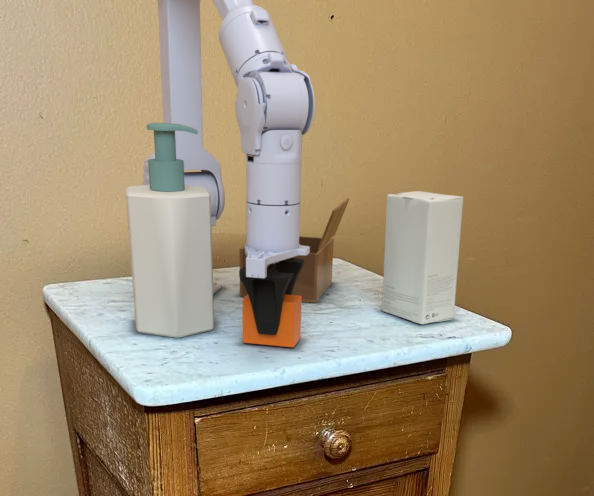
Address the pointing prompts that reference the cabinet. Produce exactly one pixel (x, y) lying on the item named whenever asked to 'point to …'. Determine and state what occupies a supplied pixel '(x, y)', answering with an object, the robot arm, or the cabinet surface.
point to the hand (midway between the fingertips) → (271, 328)
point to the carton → (307, 270)
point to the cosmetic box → (421, 255)
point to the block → (287, 327)
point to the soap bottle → (170, 245)
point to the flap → (333, 223)
